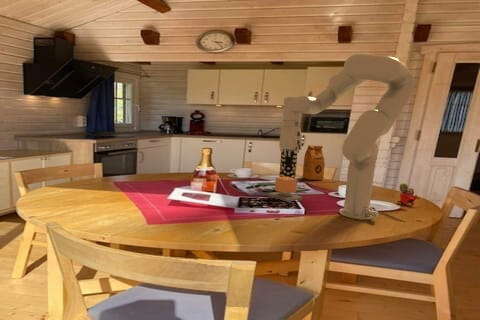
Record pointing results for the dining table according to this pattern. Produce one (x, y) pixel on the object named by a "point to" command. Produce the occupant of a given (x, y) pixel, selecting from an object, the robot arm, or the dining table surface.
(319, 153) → the coffee package
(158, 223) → the dining table surface
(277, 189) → the orange cube
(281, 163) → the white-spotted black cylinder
